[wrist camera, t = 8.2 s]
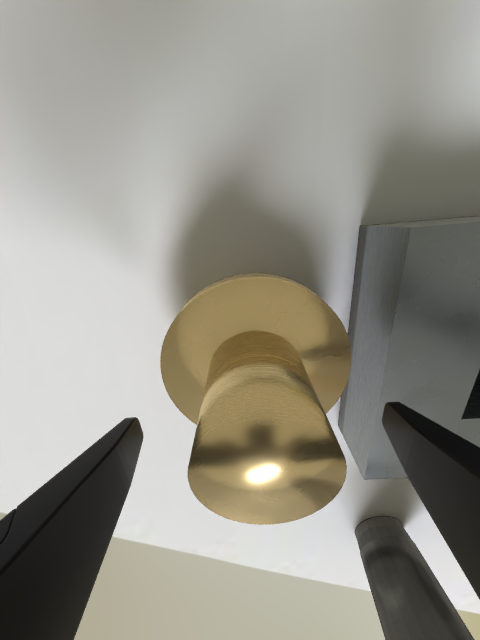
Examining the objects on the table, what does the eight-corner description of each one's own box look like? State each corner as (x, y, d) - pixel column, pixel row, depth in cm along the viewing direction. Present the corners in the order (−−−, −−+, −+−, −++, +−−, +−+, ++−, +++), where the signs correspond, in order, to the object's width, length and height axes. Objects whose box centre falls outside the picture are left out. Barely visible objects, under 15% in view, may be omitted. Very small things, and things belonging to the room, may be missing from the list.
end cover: (328, 257, 13) (483, 317, 5) (319, 389, 16) (401, 557, 8) (167, 270, 13) (46, 348, 5) (192, 397, 17) (145, 567, 8)
